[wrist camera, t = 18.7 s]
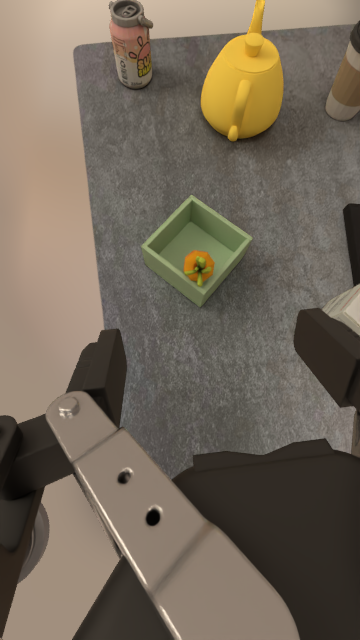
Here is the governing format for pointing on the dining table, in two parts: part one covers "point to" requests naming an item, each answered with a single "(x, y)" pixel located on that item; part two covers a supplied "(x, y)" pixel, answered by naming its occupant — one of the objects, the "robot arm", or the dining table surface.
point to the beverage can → (131, 42)
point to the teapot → (244, 84)
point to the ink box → (346, 308)
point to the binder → (353, 238)
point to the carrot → (198, 266)
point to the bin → (195, 248)
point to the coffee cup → (347, 82)
